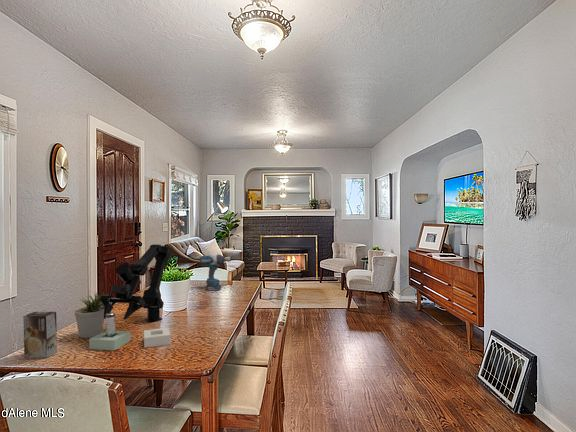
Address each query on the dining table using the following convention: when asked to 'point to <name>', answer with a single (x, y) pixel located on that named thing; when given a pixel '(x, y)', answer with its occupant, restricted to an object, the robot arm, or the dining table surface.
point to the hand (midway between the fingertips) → (114, 318)
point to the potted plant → (90, 318)
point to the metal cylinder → (110, 324)
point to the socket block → (156, 337)
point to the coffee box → (40, 334)
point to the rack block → (109, 340)
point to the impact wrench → (213, 269)
